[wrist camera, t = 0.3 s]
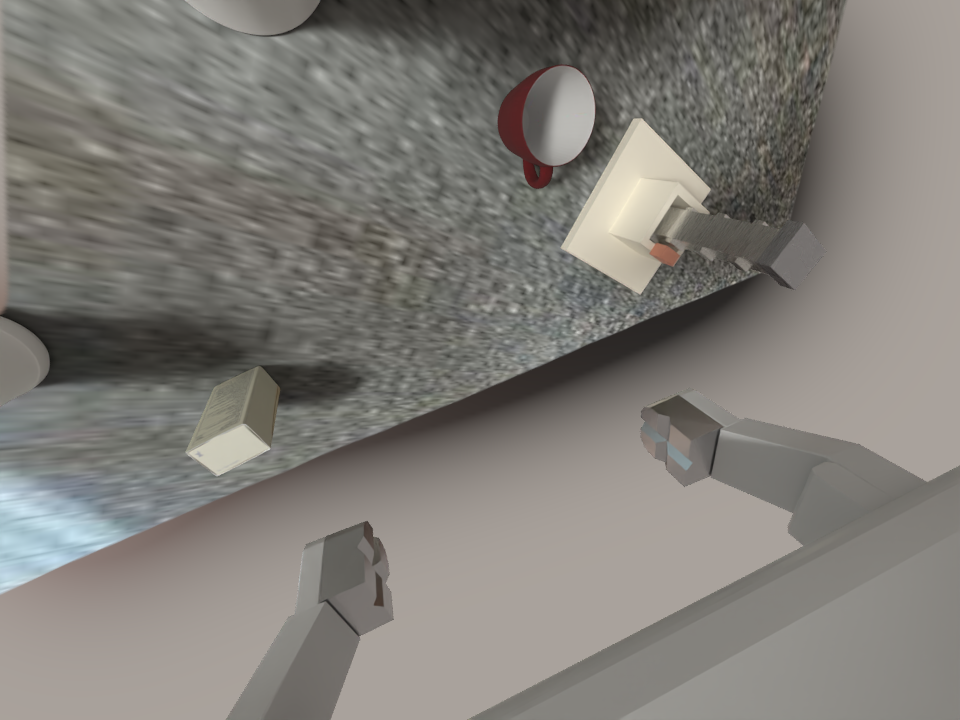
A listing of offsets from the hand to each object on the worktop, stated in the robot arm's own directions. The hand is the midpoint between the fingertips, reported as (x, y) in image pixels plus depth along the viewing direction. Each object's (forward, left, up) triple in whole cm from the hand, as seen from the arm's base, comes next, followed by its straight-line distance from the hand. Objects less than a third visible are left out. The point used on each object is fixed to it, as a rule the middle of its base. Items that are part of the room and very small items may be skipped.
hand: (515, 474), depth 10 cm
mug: (-4, +20, -40) cm, 45 cm away
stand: (+11, +37, -40) cm, 55 cm away
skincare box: (+14, -22, -40) cm, 48 cm away
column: (+11, +37, -40) cm, 55 cm away
